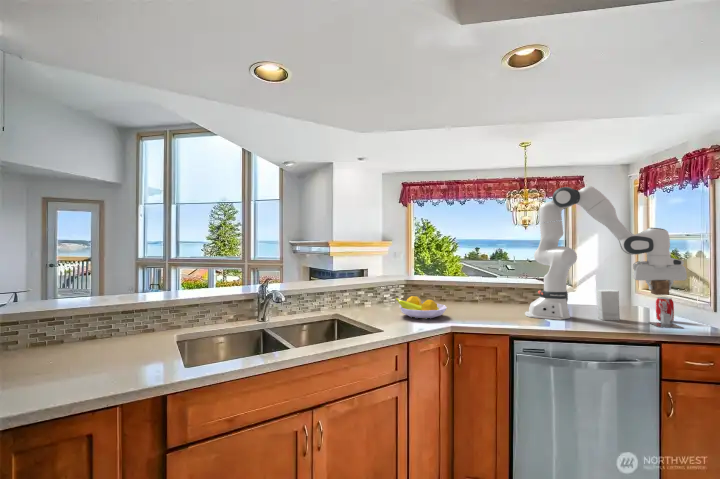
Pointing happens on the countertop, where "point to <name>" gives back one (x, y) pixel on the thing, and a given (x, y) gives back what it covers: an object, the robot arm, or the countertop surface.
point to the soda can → (664, 307)
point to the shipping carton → (660, 287)
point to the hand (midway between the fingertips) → (659, 289)
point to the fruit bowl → (421, 308)
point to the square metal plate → (665, 322)
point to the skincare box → (608, 305)
